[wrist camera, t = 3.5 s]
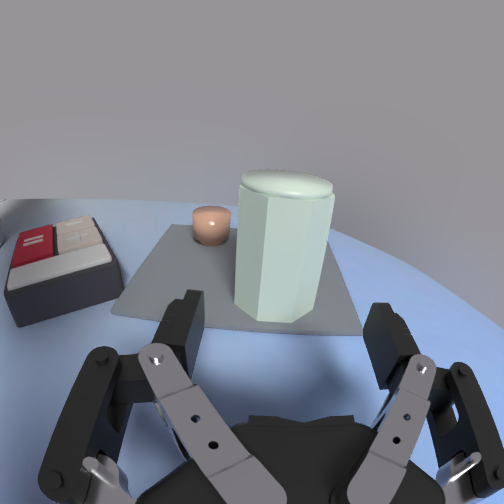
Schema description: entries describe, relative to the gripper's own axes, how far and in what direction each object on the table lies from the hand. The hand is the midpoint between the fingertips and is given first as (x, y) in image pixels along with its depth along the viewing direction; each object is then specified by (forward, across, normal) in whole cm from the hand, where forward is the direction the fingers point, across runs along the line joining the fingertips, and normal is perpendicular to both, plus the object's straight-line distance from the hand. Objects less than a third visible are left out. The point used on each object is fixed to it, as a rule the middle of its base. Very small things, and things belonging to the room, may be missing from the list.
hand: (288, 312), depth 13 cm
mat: (+14, +3, +6) cm, 16 cm away
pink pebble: (+19, +7, +6) cm, 21 cm away
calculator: (+10, +22, +7) cm, 25 cm away
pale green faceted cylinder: (+9, 0, +6) cm, 11 cm away
